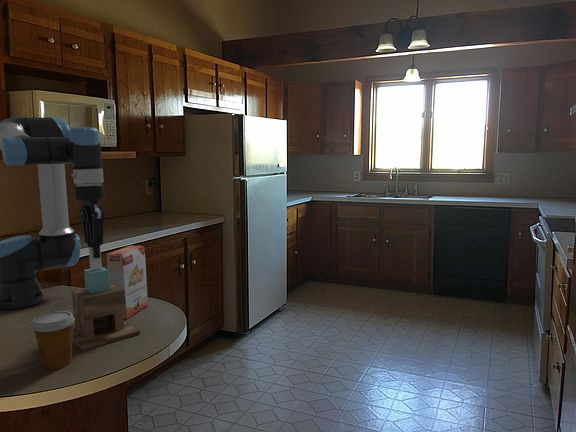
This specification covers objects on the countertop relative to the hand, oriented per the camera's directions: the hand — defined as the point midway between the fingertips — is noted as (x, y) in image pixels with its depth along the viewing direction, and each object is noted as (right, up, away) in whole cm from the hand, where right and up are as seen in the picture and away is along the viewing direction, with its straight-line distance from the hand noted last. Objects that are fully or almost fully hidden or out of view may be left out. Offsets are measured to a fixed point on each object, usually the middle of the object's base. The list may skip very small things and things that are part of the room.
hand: (96, 268), depth 133 cm
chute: (+1, -19, +3) cm, 19 cm away
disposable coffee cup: (-3, -22, -16) cm, 27 cm away
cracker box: (+3, -17, +21) cm, 27 cm away
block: (0, -12, +2) cm, 12 cm away
